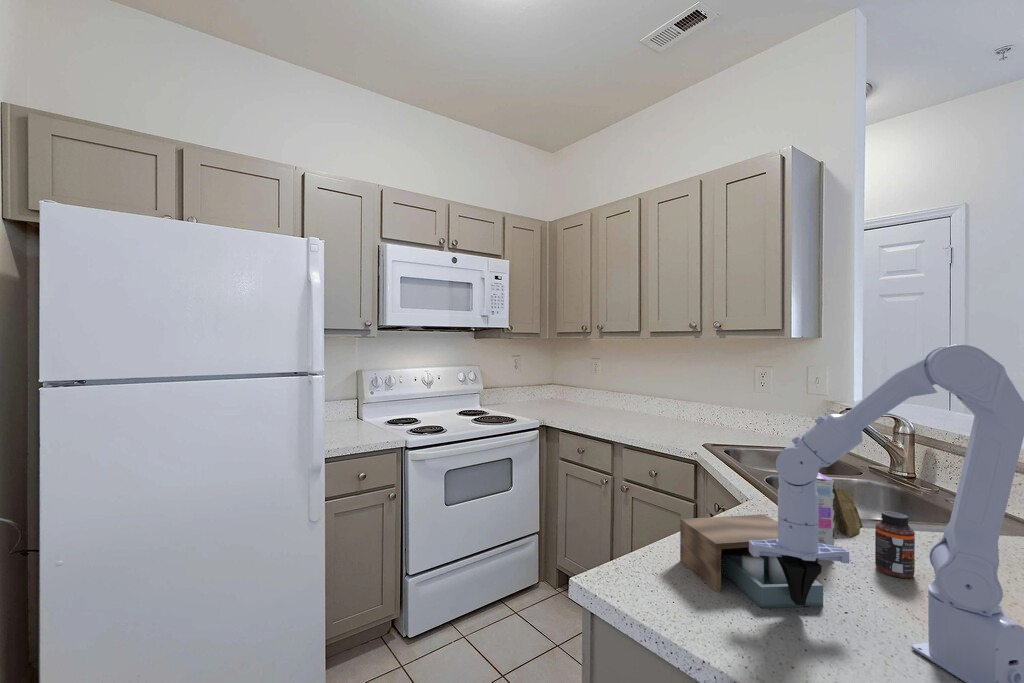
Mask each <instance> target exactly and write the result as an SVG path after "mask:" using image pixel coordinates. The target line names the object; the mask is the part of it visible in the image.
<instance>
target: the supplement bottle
mask: <svg viewBox="0 0 1024 683" xmlns="http://www.w3.org/2000/svg"><path fill="white" fill-rule="evenodd" d="M874 528H875V535H874V536H875V538H874V539H875V542H874V544H875V546H874V547H875V550H874V551H875V553H874V557H875V558H874V559H875V561H874V562H875V567H876V569H877V570H879V572H882V573H884V574H886V575H888V576H892V577H895V578H899V579H911V578H913V577H914V576H915V571H916V570H915V569H916V567H915V550H916V549H915V548H916V545H915V544H916V539H915V537H916V536H915V530H914V529H913V527H912V528H911V527H910V525H909V517H908V515H906V514H904V513H900V512H896V511H890V510H883V511H881V520H879V521H877V522H876V523H875V527H874Z"/></svg>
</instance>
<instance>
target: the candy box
mask: <svg viewBox="0 0 1024 683" xmlns="http://www.w3.org/2000/svg"><path fill="white" fill-rule="evenodd" d="M834 488H835V479H831V477H828V476H827V475H824V474H823V473H821V472H820V471H819V472H818V475H817V493H818V495H819V543H820V544H826V545H832V546H835V529H834Z"/></svg>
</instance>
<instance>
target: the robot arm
mask: <svg viewBox="0 0 1024 683" xmlns="http://www.w3.org/2000/svg"><path fill="white" fill-rule="evenodd" d="M934 385H935V386H936V385H937V386H939V387H940V388H942V389H943V390H946V391H948V392H950V393H951V394H953V395H954V396H956V398H957V399H958V401H960V402H961V403H962V404H963V405H964V406H965V407H966V408H967V409H968V410H969V411H970V413H972V414H973V416H974V418H973V421H972V427H971V430H970V434H969V439H968V442H967V446H966V450H965V451H966V452H965V455H964V459H963V463H962V468H961V472H960V477H959V481H958V486H957V490H956V493H955V497H954V501H953V507H952V511H951V515H950V519H949V522H948V524H946V527H945V528H944V531H943V534H942V538H940V540H939V541H938V542H936V543H935V544H934V545H932V547H931V548H930V551H929V562H930V565H931V566H932V568H933V571H934V574H935V575H934V579H935V580H934V581H932V582H931V583H929V584H928V586H927V592H928V595H927V596H928V597H927V598H928V599H927V600H928V602H927V606H928V610H927V611H928V612H927V613H928V615H927V616H928V623H927V624H928V642H923V643H915V644H911V649H912V650H913V651H914V652H917V653H918V654H919V655H921V656H923V657H925V659H928V660H930V661H931V662H932V663H934V664H936V665H937V666H938V667H940V668H942V669H943V670H946V671H947V672H948V673H950V674H951V675H953V676H955V677H956V678H957V679H960V680H961V681H963V682H965V683H1024V626H1022V625H1021V624H1019V623H1017V622H1016V621H1014V620H1012V619H1011V618H1010V617H1009V616H1008V615H1006V613H1005V612H1004V611H1003V607H1002V604H1001V602H1002V600H1003V597H1004V592H1003V587H1002V585H1001V582H1000V580H999V577H998V570H999V565H1000V552H999V540H1000V535H1001V531H1002V527H1003V522H1004V519H1005V515H1006V511H1007V506H1008V504H1009V503H1008V502H1009V498H1010V494H1011V490H1012V487H1013V482H1014V478H1015V474H1016V470H1017V465H1018V462H1019V458H1020V455H1021V450H1022V446H1023V441H1024V400H1023V398H1022V396H1021V394H1020V393H1019V392H1018V390H1017V389H1016V386H1015V385H1014V383H1013V382H1012V380H1011V379H1010V376H1008V372H1007V370H1006V367H1005V366H1004V365H1003V364H1002V363H1001V362H999V361H997V360H996V359H995V358H993V357H992V356H991V355H990V354H988V353H987V352H985V351H984V350H982V349H980V348H978V347H976V346H973V345H968V344H953V345H944V346H939V347H936V348H935V349H933V350H932V351H930V352H929V353H928V354H927V355H926V356H925V358H922V357H920V358H919V359H917V360H916V361H914V362H912V363H910V364H908V365H906V366H905V367H903V368H902V369H900V370H898V371H896V372H895V373H894V374H892V375H891V376H890V377H889V378H888V379H886V380H885V381H884V382H882V384H880V385H879V386H878V387H876V389H874V390H873V391H872V392H870V393H869V394H868V395H867V396H866V397H864V398H863V399H862V400H861V401H860V402H858V403H857V404H856V405H855V406H853V407H852V408H851V409H849V410H848V411H847V412H846V413H844V414H843V413H829V414H828V415H826V416H825V417H824V416H823V415H819V417H817V418H816V419H815V420H814V423H816V424H815V425H814V426H812V427H811V428H810V429H808V430H807V431H806V432H805V433H803V434H802V435H801V436H800V437H799V436H797V435H796V436H794V437H793V438H792V439H791V442H792V443H793V444H790V445H787V446H786V447H784V449H783V450H782V451H781V452H779V454H778V455H777V457H776V460H775V469H776V472H777V474H778V481H777V482H778V488H777V522H778V539H770V540H749V552H750V553H751V555H752V556H753V557H760V555H762V556H775V557H777V559H778V561H779V563H780V565H781V567H782V570H783V572H784V575H785V577H786V580H787V584H788V587H789V591H790V597H791V600H792V601H793V602H794V603H795V604H796V605H803V606H805V603H806V599H807V596H808V593H809V591H810V588H811V586H812V584H813V582H814V581H815V580H816V579H817V578H818V577H819V575H820V574H821V573H822V570H823V569H822V564H820V563H819V560H820V561H831V562H832V561H833V562H840V563H842V564H847V565H848V564H850V550H847V549H846V548H844V547H843V546H837V545H834V546H832V545H826V544H820V543H819V495H818V493H817V475H818V472H819V473H820V470H821V468H828V467H830V466H832V465H833V464H834V463H835V462H837V461H839V460H840V459H841V458H842V457H844V456H845V455H847V454H848V453H849V452H850V451H852V450H853V449H855V448H856V447H857V446H859V445H860V444H862V443H863V430H864V429H865V428H867V427H869V426H870V425H872V424H873V423H874V422H876V421H877V420H879V419H880V418H881V417H883V416H884V415H886V414H887V413H889V412H890V411H892V410H894V409H895V408H896V407H898V406H899V405H901V404H902V403H903V402H905V401H906V400H908V399H909V398H913V397H919V396H926V395H932V394H937V393H938V391H937V389H936V388H935V387H934Z"/></svg>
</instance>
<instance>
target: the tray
mask: <svg viewBox="0 0 1024 683" xmlns="http://www.w3.org/2000/svg"><path fill="white" fill-rule="evenodd" d="M722 574H723V575H725V577H726V578H727V579H729V580H730V582H732V583H733V584H734V585H735V586H736V587H737V586H738V587H739V588H738V587H737V588H738V589H739V590H741V591H742V592H743V593H744V594H745V595H746V596H747V597H748V598H749V599H751V601H752V602H754V604H756V605H757V606H758V607H759V608H760V609H775V608H777V609H778V608H780V607H781V609H782V608H784V609H785V608H803V607H802V606H803V605H796V604H795V603H794V602H793V601H792V600H791V597H790V591H789V587H788V584H787V580H786V577H785V575H784V572H783V570H782V567H781V565H780V563H779V561H778V559H777V557H775V556H762V555H760V557H753V556H752V555H751V554H739V555H723V560H722ZM805 606H815V607H824V584H822V583H821V582H819V581H818V580H816V579H815V581H814V582H813V584H812V586H811V588H810V591H809V593H808V596H807V599H806V603H805Z"/></svg>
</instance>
